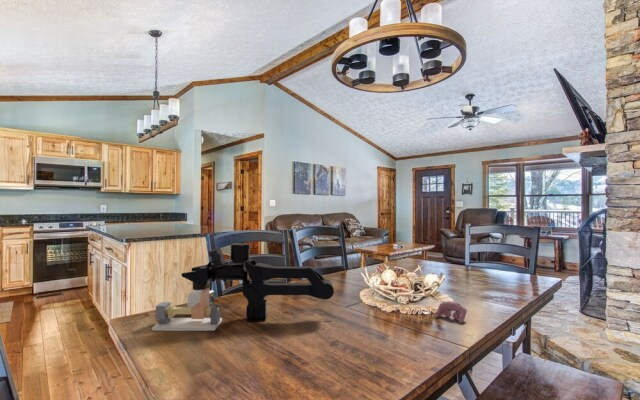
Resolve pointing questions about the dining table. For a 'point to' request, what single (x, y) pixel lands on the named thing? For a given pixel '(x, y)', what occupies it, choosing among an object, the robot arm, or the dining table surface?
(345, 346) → the dining table surface
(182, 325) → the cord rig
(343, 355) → the dining table surface
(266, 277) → the robot arm
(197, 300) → the medicine bottle
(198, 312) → the sleeve
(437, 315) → the video game controller
